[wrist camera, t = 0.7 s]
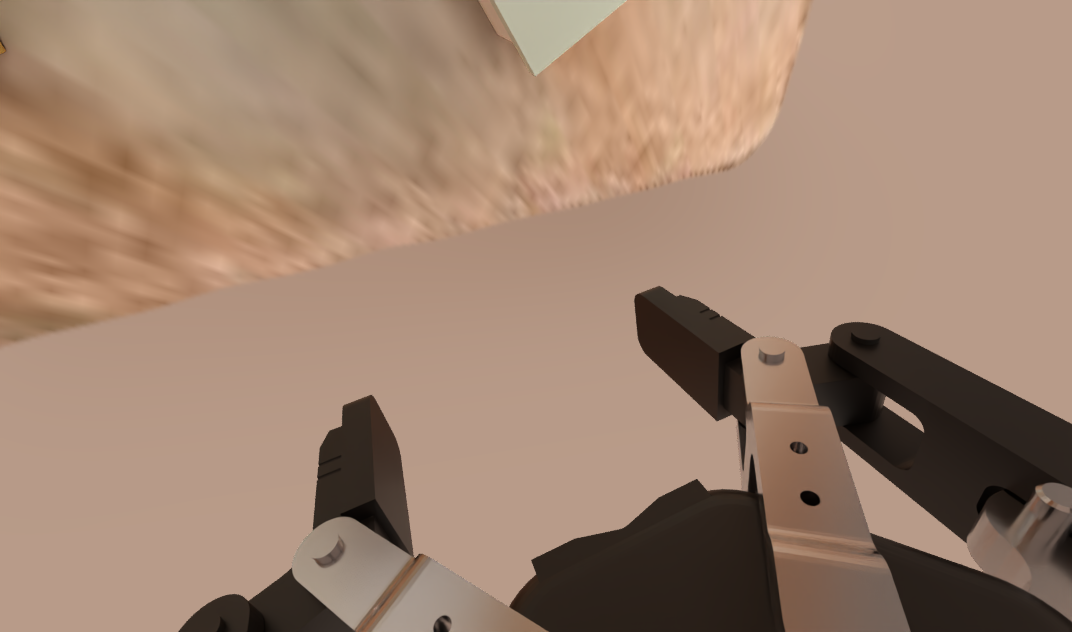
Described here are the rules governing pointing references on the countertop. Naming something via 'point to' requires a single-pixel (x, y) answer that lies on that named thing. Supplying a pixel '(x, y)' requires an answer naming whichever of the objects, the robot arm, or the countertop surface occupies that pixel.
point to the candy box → (2, 49)
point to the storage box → (494, 19)
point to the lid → (549, 26)
